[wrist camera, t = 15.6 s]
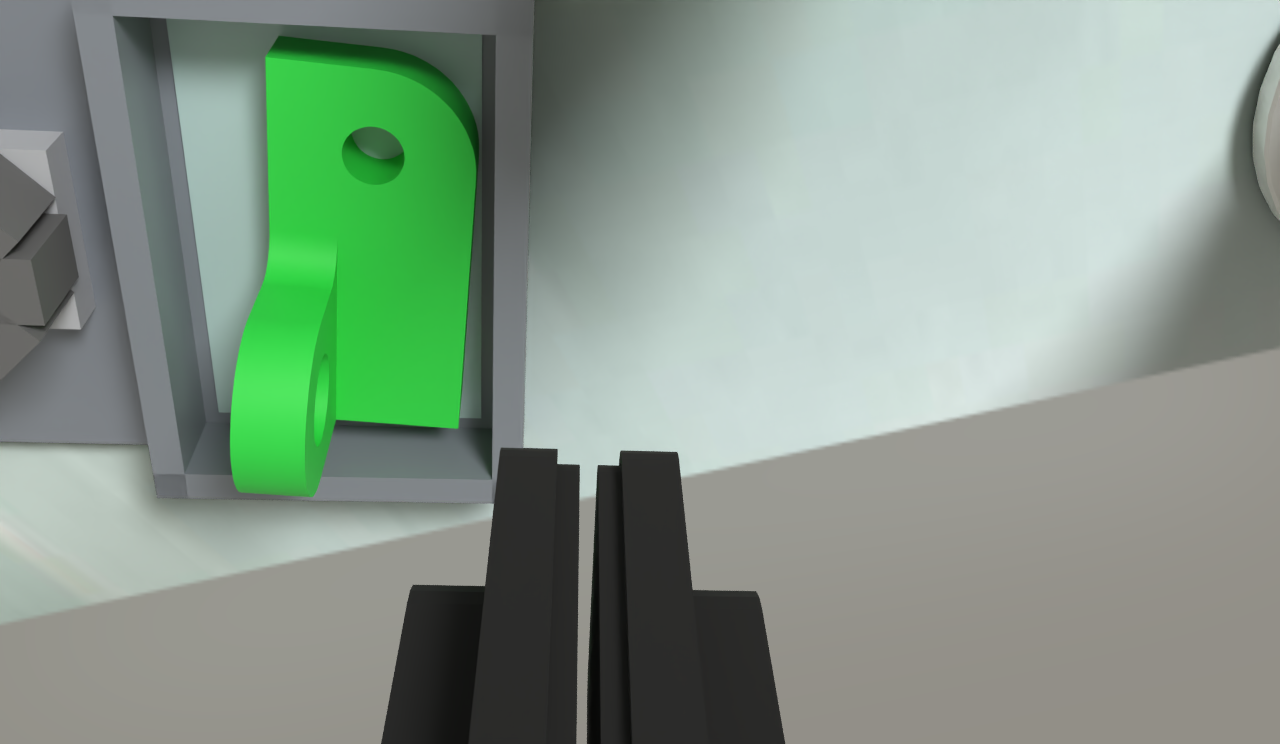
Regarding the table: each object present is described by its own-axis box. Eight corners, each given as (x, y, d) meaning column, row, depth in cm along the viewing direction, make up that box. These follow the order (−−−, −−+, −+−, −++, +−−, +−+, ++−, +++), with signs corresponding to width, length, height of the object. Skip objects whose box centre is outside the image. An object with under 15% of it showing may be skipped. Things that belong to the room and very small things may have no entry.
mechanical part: (461, 396, 43) (445, 545, 36) (284, 382, 42) (233, 531, 35) (486, 59, 36) (471, 163, 30) (278, 35, 36) (215, 136, 29)
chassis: (535, -38, 36) (533, 13, 32) (523, 436, 45) (520, 528, 40) (-221, -80, 34) (-338, -33, 30) (-76, 423, 43) (-149, 518, 39)
